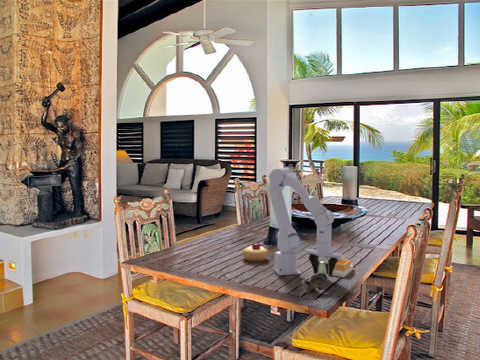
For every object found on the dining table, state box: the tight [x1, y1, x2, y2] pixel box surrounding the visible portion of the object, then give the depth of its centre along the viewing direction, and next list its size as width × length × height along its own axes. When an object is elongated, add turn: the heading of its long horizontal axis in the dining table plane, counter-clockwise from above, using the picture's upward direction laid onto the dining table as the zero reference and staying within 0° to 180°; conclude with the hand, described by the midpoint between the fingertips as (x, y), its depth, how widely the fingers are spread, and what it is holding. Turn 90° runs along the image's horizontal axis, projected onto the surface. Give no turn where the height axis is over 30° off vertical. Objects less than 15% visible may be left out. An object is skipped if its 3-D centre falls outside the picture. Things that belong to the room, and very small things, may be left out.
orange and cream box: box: [332, 258, 354, 278], centre depth 171 cm, size 12×9×4 cm
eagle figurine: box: [300, 273, 327, 295], centre depth 149 cm, size 8×7×9 cm
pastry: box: [242, 240, 269, 263], centre depth 188 cm, size 12×12×9 cm
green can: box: [316, 260, 330, 282], centre depth 161 cm, size 4×4×7 cm
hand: (323, 274), depth 161 cm, fingers open, 6 cm apart
